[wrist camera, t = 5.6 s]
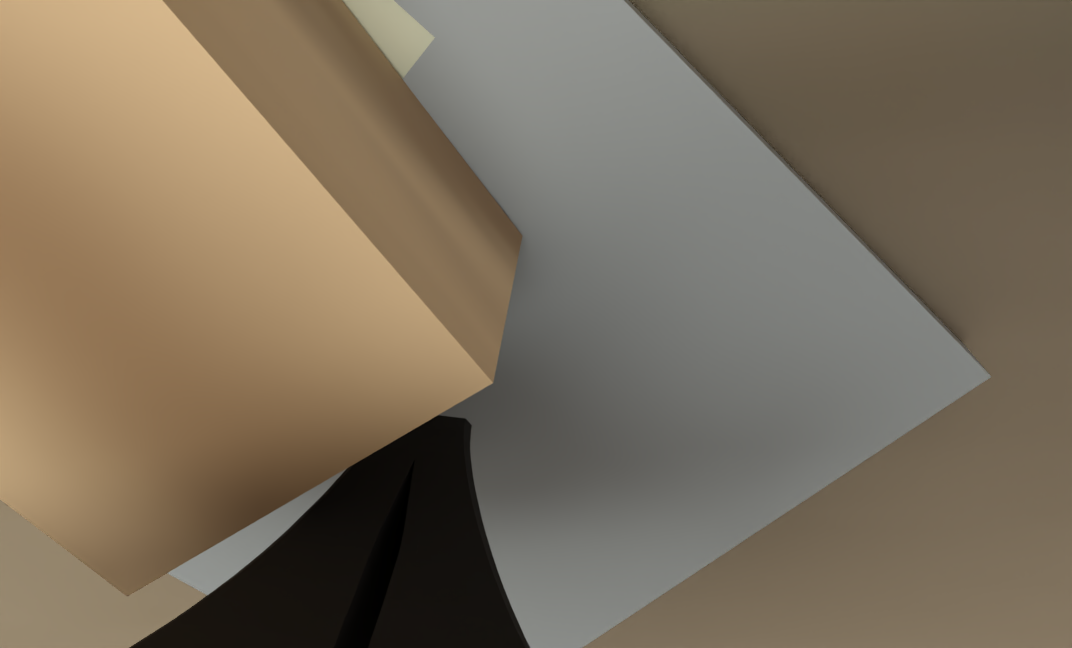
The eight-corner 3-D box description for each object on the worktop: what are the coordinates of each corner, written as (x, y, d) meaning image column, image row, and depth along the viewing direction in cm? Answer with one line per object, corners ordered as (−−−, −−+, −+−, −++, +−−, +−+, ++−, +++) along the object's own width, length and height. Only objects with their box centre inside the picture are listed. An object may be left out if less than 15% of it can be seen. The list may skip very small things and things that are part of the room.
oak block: (230, -145, 9) (9, -178, 6) (522, 235, 11) (493, 382, 8) (-46, 136, 11) (-337, 242, 8) (248, 414, 13) (127, 595, 10)
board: (-385, -1039, 7) (-525, -1176, 6) (964, 344, 13) (991, 376, 12) (-537, 122, 12) (-622, 141, 11) (461, 692, 19) (455, 731, 18)
